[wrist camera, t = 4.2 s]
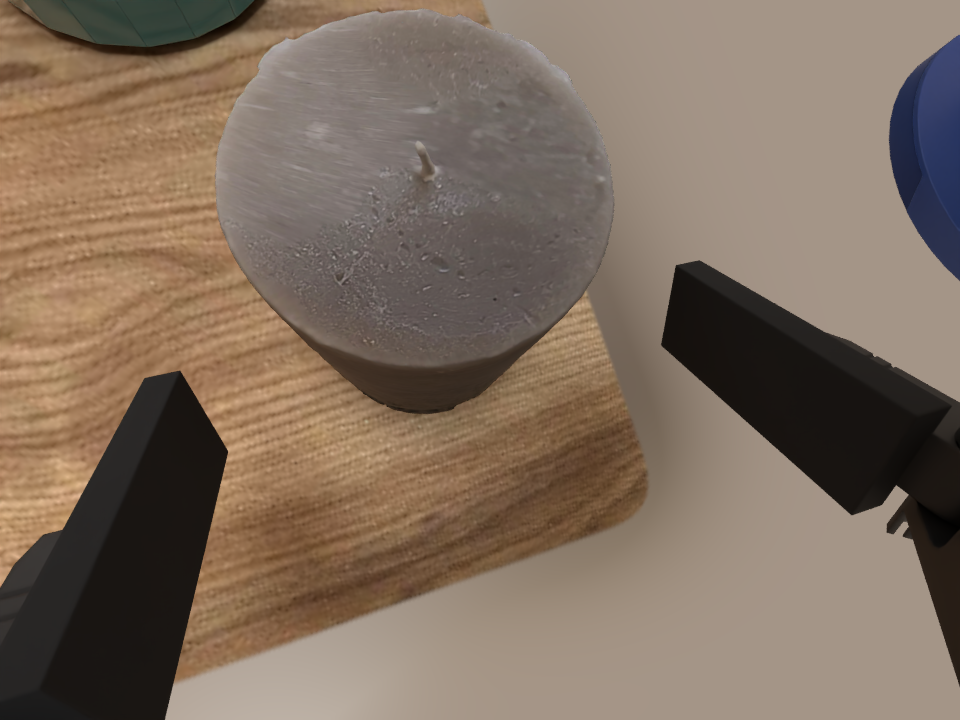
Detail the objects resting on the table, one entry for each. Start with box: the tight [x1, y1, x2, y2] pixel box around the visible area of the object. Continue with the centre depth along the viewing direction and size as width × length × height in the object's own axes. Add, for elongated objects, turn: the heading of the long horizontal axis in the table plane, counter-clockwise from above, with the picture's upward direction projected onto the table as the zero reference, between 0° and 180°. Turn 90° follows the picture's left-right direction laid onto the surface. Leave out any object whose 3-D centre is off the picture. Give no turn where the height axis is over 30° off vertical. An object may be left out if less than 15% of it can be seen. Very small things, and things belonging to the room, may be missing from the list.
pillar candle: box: [215, 9, 614, 414], centre depth 17 cm, size 10×10×15 cm
